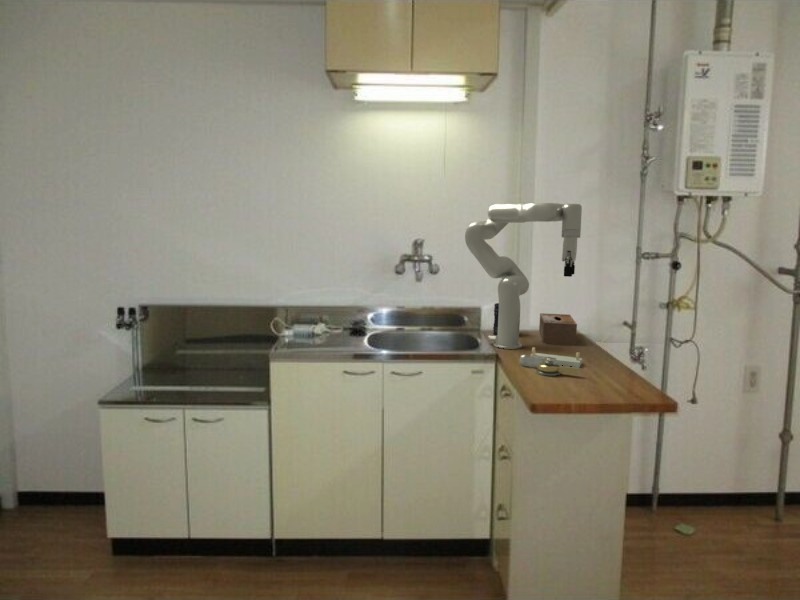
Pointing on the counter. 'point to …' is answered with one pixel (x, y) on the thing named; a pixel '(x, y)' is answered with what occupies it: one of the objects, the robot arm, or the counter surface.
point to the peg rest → (563, 359)
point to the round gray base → (548, 373)
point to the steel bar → (534, 360)
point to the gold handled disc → (556, 368)
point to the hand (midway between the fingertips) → (569, 275)
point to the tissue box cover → (557, 329)
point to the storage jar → (496, 319)
